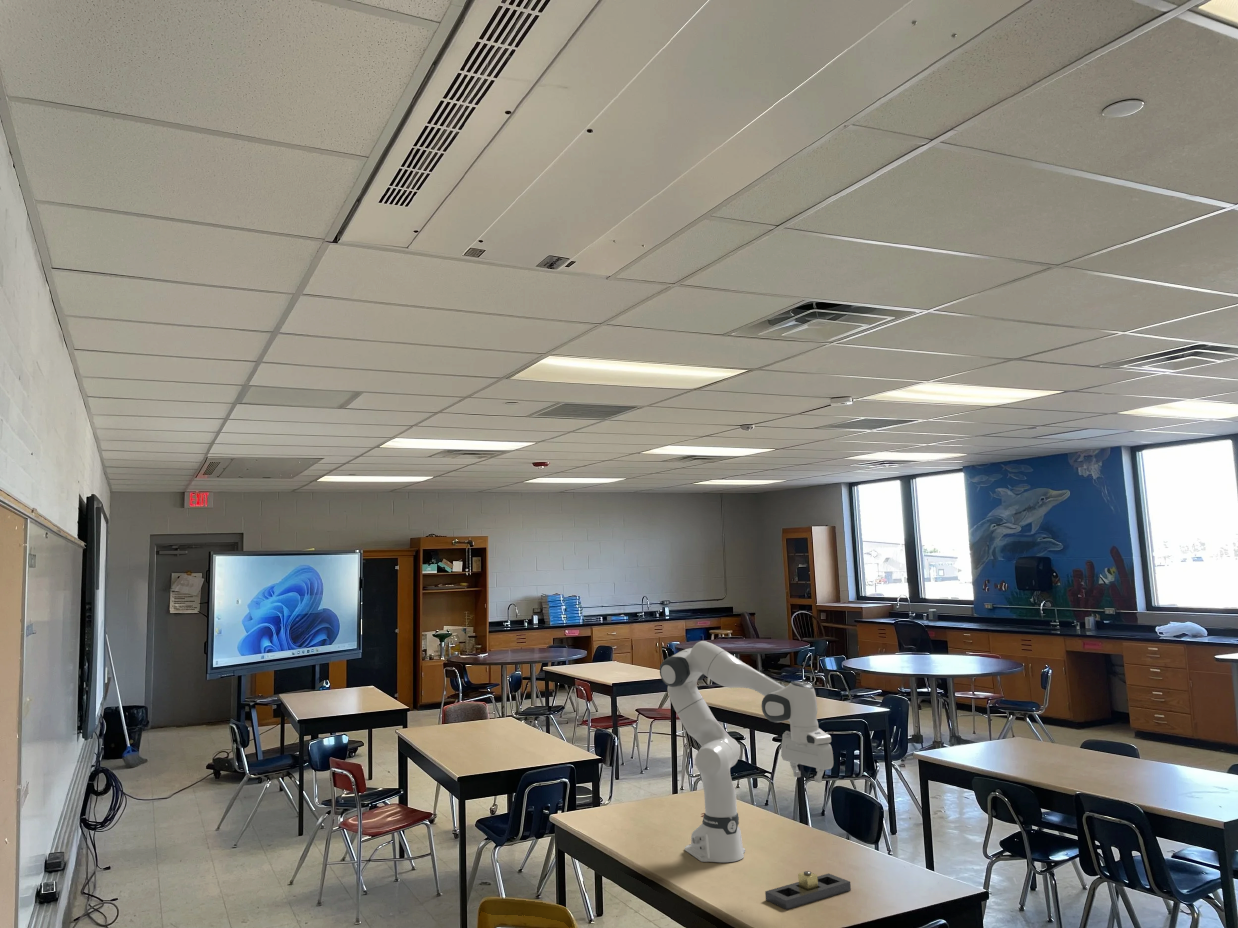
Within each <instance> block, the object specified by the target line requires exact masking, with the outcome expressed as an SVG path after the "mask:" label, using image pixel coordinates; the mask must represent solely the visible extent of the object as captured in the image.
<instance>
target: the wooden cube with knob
mask: <svg viewBox="0 0 1238 928" xmlns="http://www.w3.org/2000/svg"><path fill="white" fill-rule="evenodd" d="M797 875H798V876H797V877H798V882H799V887H800V888H802V889H804V890H807V891H810V890H813V889H817V888H818V878H817V877H818V873H817V874H816V873H813V872H811V871H809V870H807V871H806V870H805V871H803V872H799V873H797Z"/></svg>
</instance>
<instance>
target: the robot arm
mask: <svg viewBox="0 0 1238 928" xmlns="http://www.w3.org/2000/svg"><path fill="white" fill-rule="evenodd" d="M659 675H660V678H661V680H662V682H663V683H664V684H665V685H667V694H668V697H669V699H670V701H671V704H672V706H673V709H674V711H675V712H676V714H677V716H678V718H679V719H680V722H681V724H682V726H683V727H684V729H685V731H686V732H687V734H688V735H689V736H690V737H692V738H693V739H694V740H695V741H696V742H697V743H698V744H699V745H700V748H699V750H698V751H697V753H696V755H695V758H694V760H695V761H694V762H695V766H696V769H697V771H698V772H699V775H700V778H701V782H702V787H703V794H704V810H705V811H704V812H703V813H701V816H700V818H702V823H701V824H700V825H699V826H698V827H697V828H696V829H693V831H692V832H691V837H690V838H691V839H690V841H691V842H690V844H687V845H686V846H684V851H685V852H686V853H688V854H689V855H692V856H693V857H694V858H695V859H697V860H699V861H700V862H702V863H703V862H705V863H709V862H711V863H733V862H738V861H740V860H742V859H743V858H744V857H745V855H744V854H745V852H746V848H745V847H744V846H743V839H742V832H741V827H740V826H739V824H740V821H739V820H740V819H739V818H740V817H739V812H738V809H737V790H736V788H735V786H734V783H733V780H732V776H731V768H732V767H734V766H736V764H737V763H738V760H739V758H740V755H741V746H740V744H739V742H738V741H737V740H736V739H735V738H733V737H731V736H730V735H729V733H728V732H727V730H725V729H724V727H723V726H722V725H721V724H720V723H719V721H718V720H717V719H716V718H715V716H714V714H713V712H712V711H711V709H710V707H709V705H708V704H707V701H706V700H705V699H704V697H703V696H702V694H701V692H700V690H699V689H698V683H697V682H698V681H702V680H703V679H704V677H707V679H710V680H711V681H712V682H714V683H715V684H717V685H720V686H722V687H724V688H733V689H734V688H741V689H742V688H743V689H749V690H753V691H755V692H757V693H759V694H761V695H762V696H764V697H763V698H762V701H761V711H762V714H763V715H764V718H765V719H767V721H769V722H772V723H782V722H785V721H786V722H787V721H788V722H789V724H790V725H789V726H790V731H789V730H785V732H783V734H782V740H781V749H780V750H781V751H780V757H781V758H782V760H783V761H786V762H789V766H790V767H791V769H792V772H793V777H794V778H801V777H802V775H801V770H800V769H799V767H798V765H803V766H807V767H811V768H815V771H816V772H817V773H816V775H815V776H814V782H815V783H817V784H821V783H823V775H824V772H825V771H826V770H831V769H832V768H833V767H834V754H833V753H834V751H833V748H832V745H831V742H832V736H831V735H830V734H828V733H827V732H825V731H823V730H822V729H821V728H820V727H819V722H818V718H817V715H818V702H817V696H816V694H817V693H816V690H815V688H814V686H813V685H811V684H810V683H808V682H804V681H791V682H790V683H789V684H788V685H784V684H782V683H780V682H778V681H777V680H775V679H773V678H772V677H770V676H768V675H766V674H764V673H763V672H761V671H760V670H757V669H755V668H753V667H752V666H750V665H749V664H746V663H745V662H743V661H742V660H740V659H739V658H737V657H735V656H734V655H733V654H731V653H729V652H728V651H727V650H725V649H724V648H721V647H720V646H717V644H714V643H712V642H708V641H706V640H701V641H698V642H696V643H695V644H694V645H693V646H691V647H689V648H686V649H683V650H680V651H678V652H677V653H675V654H672V655H671V656H668V657H667V658H666V659H664V660H663V661H662V662H661V663H660V665H659Z"/></svg>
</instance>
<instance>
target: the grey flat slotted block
mask: <svg viewBox="0 0 1238 928" xmlns="http://www.w3.org/2000/svg"><path fill="white" fill-rule="evenodd" d="M817 878H818V888H817V889H813V890H810V891H807V890H804V889H802V888H800V887H799V881H797V882H794V883H793V882H792V883H790V884H786V885H783V886H780V887H775V888H772V889H769V890H765V891H764V894H765V901H767V902H768V903H771V904H773V905H775V906H777V907H780V908H782V909H784V910H785V911H786V910H791V909H794V908H797V907H800V906H803V905H804V906H805V905H807V904H811V903H814V902H817V901H821V900H823V899H827V898H830V897H833V896H837V895H839V894H843V893H846V892H849V891H850V892H851V891H852V888H851V881H850V880H847V879H845V878H842V877H839V876H837V875H834V874H832V873H825V874H822V875H819V876H818V875H817Z"/></svg>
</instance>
